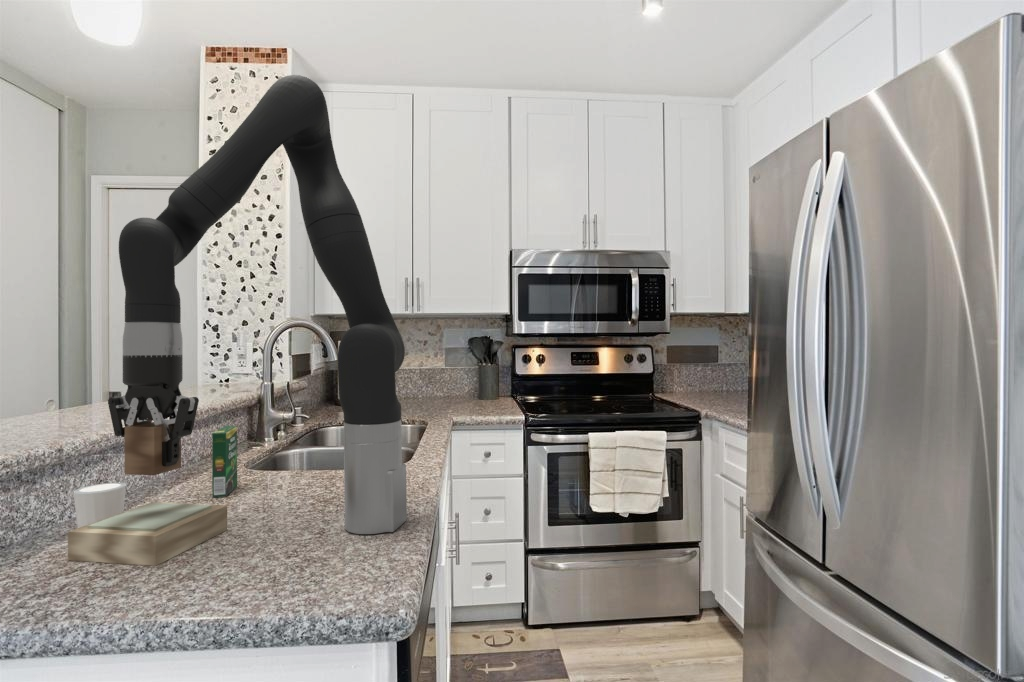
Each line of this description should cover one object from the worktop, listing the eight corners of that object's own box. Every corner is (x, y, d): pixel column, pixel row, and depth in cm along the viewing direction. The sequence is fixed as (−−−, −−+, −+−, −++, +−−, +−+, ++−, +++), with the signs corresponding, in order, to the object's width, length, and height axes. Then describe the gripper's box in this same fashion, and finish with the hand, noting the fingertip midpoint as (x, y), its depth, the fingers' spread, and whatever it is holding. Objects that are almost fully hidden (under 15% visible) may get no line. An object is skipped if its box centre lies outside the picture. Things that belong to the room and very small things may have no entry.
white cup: (130, 520, 90) (130, 479, 90) (120, 533, 84) (120, 489, 84) (81, 526, 87) (80, 484, 87) (66, 540, 81) (66, 495, 81)
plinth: (227, 529, 85) (227, 502, 85) (155, 565, 71) (155, 533, 71) (152, 526, 87) (151, 499, 87) (68, 560, 73) (68, 528, 73)
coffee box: (227, 497, 103) (226, 431, 103) (211, 498, 103) (210, 432, 103) (238, 486, 111) (238, 425, 111) (223, 487, 111) (223, 426, 111)
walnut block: (181, 467, 81) (181, 422, 81) (154, 475, 76) (154, 427, 76) (153, 466, 82) (153, 422, 82) (124, 474, 77) (124, 426, 77)
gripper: (213, 352, 82) (213, 460, 82) (134, 352, 84) (134, 458, 84) (175, 353, 74) (175, 472, 74) (89, 353, 77) (89, 469, 77)
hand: (153, 464), depth 79 cm, fingers closed on walnut block, 5 cm apart
